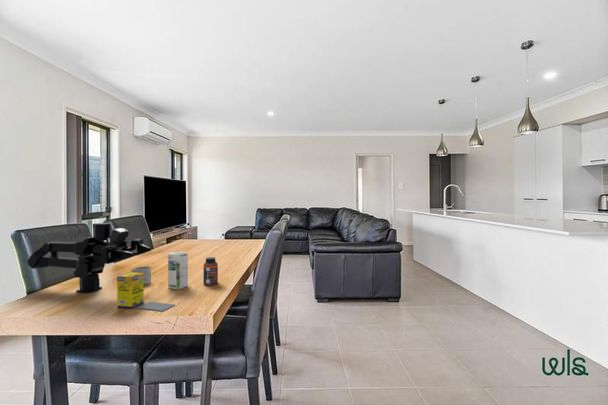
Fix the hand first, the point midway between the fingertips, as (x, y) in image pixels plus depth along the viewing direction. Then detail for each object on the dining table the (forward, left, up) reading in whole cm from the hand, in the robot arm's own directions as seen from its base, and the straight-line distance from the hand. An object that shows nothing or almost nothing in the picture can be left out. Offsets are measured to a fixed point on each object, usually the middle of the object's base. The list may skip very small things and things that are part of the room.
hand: (142, 251), depth 122 cm
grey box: (-13, +14, -17) cm, 26 cm away
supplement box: (+5, -12, -17) cm, 21 cm away
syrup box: (+8, +11, -17) cm, 22 cm away
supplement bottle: (+19, +18, -17) cm, 31 cm away
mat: (+14, -11, -17) cm, 24 cm away
